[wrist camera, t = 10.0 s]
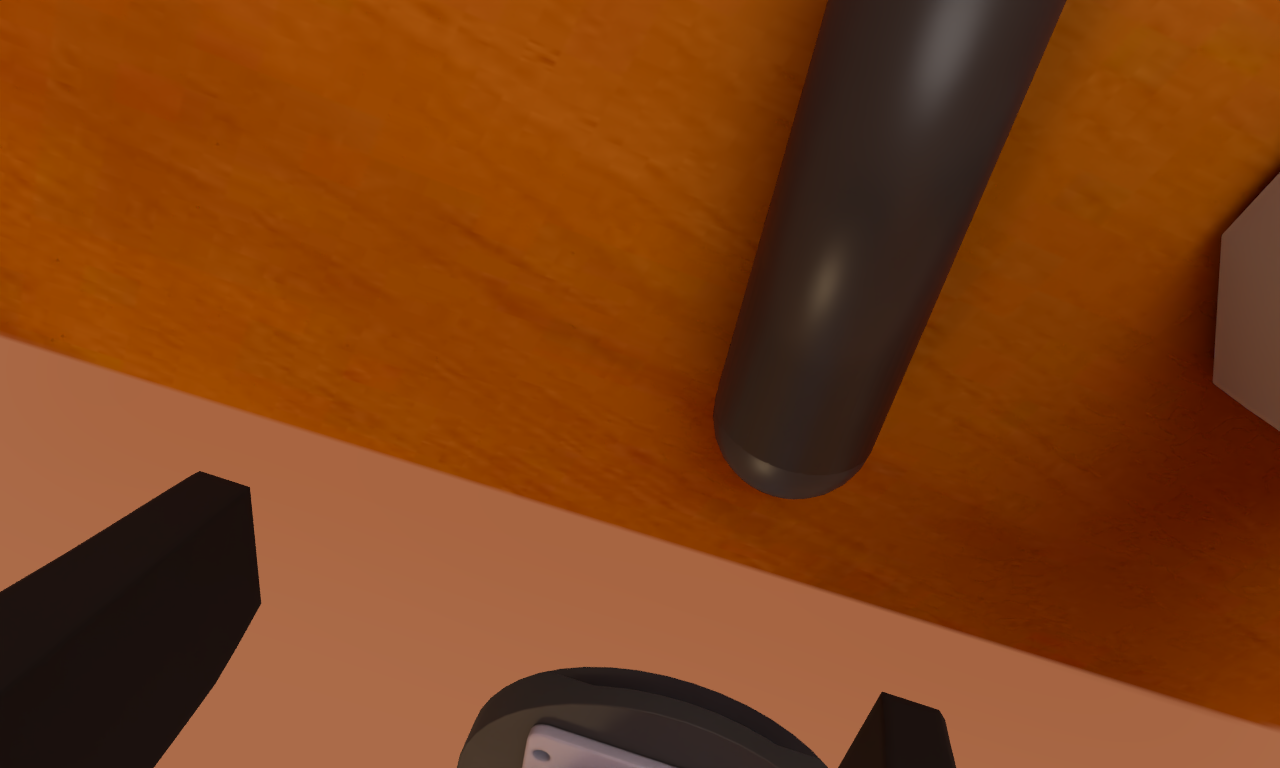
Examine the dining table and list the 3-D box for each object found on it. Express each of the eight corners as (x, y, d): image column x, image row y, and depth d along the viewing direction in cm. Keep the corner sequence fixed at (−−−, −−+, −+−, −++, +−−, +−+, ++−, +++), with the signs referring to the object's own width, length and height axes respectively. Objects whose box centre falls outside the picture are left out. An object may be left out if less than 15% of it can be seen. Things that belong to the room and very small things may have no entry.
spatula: (903, 462, 20) (897, 569, 18) (667, 393, 21) (631, 488, 18) (1571, -973, 9) (1793, -1195, 7) (1020, -1058, 9) (1045, -1295, 7)
